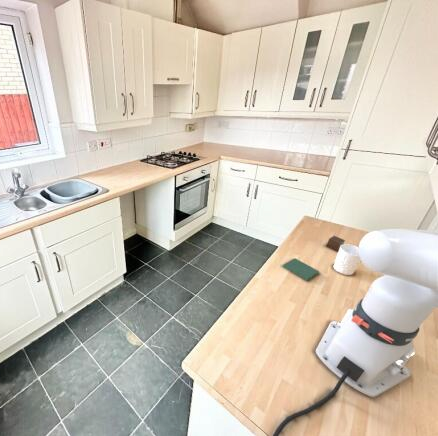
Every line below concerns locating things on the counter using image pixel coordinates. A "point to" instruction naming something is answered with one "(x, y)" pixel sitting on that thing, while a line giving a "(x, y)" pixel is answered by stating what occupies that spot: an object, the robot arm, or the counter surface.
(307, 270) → the flat green block
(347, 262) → the white cup
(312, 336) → the counter surface
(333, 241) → the walnut block
